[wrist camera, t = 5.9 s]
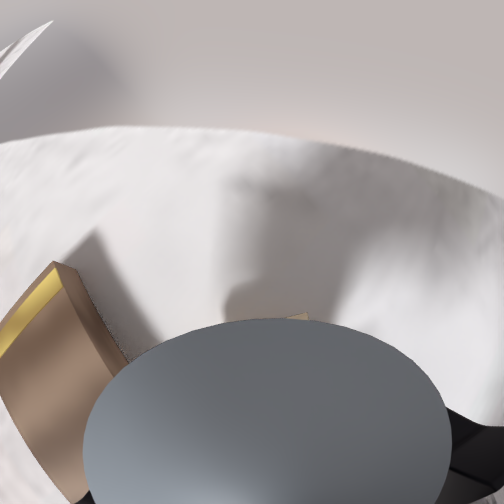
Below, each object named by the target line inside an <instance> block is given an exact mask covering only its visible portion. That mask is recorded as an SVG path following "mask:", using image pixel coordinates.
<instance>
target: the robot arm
mask: <svg viewBox="0 0 504 504" xmlns="http://www.w3.org/2000/svg"><path fill="white" fill-rule="evenodd" d="M446 409H447V413H448V417H449V421H450V425H451V435H452V450H451V460H450V465H449V469H448V473H447V477H446V480H445V482H444V485H443V487H442V490H441V492H440V494H439V496H438V498H437V500H436V502H435V504H504V426H485V425H480V424H478V423H475V422H473V421H471V420H469V419H467V418H465V417H463V416H462V415H460V414H458V413H456V412H454V411H452V410H450V409H449V408H447V407H446ZM74 504H96V503H95V501H94V499H93V497H92V494H91V492H90V490H89V491H88V492H87V493H86V494H85V495H84V497H83V498H81V499H80V500H79V501H78V502H76V503H74Z"/></svg>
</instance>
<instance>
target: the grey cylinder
mask: <svg viewBox="0 0 504 504" xmlns="http://www.w3.org/2000/svg"><path fill="white" fill-rule="evenodd" d="M451 450H452V435H451V425H450V421H449V417H448V413H447V409H446V407H445V404H444V402H443V400H442V398H441V395H440V393H439V391H438V390H437V388H436V387H435V386H434V384H433V383H432V381H431V380H430V378H429V377H428V376H427V375H426V374H425V372H424V371H423V370H422V369H421V368H420V367H419V366H418V365H417V364H416V363H415V362H414V361H413V360H411V359H410V358H408V357H407V356H406V355H404V354H403V353H401V352H400V351H399V350H397V349H396V348H394V347H393V346H391V345H389V344H387V343H385V342H383V341H381V340H379V339H377V338H375V337H373V336H371V335H368V334H365V333H362V332H359V331H356V330H353V329H350V328H347V327H344V326H339V325H334V324H329V323H324V322H319V321H312V320H309V317H308V313H307V312H306V313H302V314H298V315H294V316H290V317H286V318H276V319H250V320H243V321H236V322H228V323H221V324H218V325H214V326H210V327H206V328H202V329H198V330H194V331H191V332H188V333H186V334H183V335H180V336H178V337H175V338H173V339H170V340H167V341H165V342H163V343H161V344H160V345H158V346H156V347H154V348H152V349H150V350H149V351H147V352H145V353H143V354H142V355H140V356H139V357H138V358H136V359H135V360H134V361H132V362H131V363H130V364H128V365H127V366H125V367H124V368H123V369H122V370H121V371H120V372H119V373H118V374H117V375H116V376H115V377H114V378H113V379H112V380H111V381H110V382H109V383H108V384H107V386H106V387H105V389H104V390H103V392H102V393H101V395H100V396H99V397H98V399H97V400H96V402H95V405H94V407H93V409H92V411H91V413H90V416H89V418H88V421H87V425H86V429H85V433H84V440H83V463H84V472H85V476H86V479H87V483H88V487H89V490H90V492H91V494H92V497H93V499H94V501H95V503H96V504H435V502H436V500H437V498H438V496H439V494H440V492H441V490H442V487H443V485H444V482H445V480H446V477H447V473H448V469H449V465H450V460H451Z"/></svg>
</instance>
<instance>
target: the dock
mask: <svg viewBox="0 0 504 504" xmlns="http://www.w3.org/2000/svg"><path fill="white" fill-rule="evenodd" d="M128 364H129V363H128V362H127V360H126V358H125V357H124V355H123V354H122V352H121V351H120V349H119V348H118V346H117V344H116V343H115V341H114V340H113V338H112V336H111V335H110V333H109V331H108V330H107V328H106V326H105V324H104V323H103V321H102V319H101V317H100V316H99V314H98V312H97V310H96V308H95V307H94V305H93V303H92V301H91V299H90V297H89V295H88V293H87V291H86V289H85V287H84V285H83V283H82V281H81V279H80V277H79V275H78V273H77V270H76V269H73V268H71V267H68V266H65V265H63V264H60V263H58V262H56V261H52V262H51V263H50V264H49V265H48V266H47V268H46V269H45V270H44V271H43V272H42V273H41V274H40V275H39V276H38V277H37V279H36V280H35V281H34V282H33V283H32V284H31V285H30V286H29V288H28V289H27V290H26V291H25V292H24V293H23V295H22V296H21V297H20V298H19V299H18V301H17V302H16V303H15V304H14V306H13V307H12V308H11V309H10V311H9V312H8V313H7V315H6V316H5V317H4V318H3V320H2V321H1V322H0V396H1V398H2V400H3V402H4V404H5V406H6V408H7V410H8V412H9V414H10V416H11V418H12V420H13V422H14V424H15V425H16V427H17V429H18V431H19V433H20V434H21V436H22V438H23V439H24V441H25V443H26V444H27V446H28V447H29V449H30V451H31V452H32V454H33V455H34V457H35V458H36V460H37V461H38V463H39V464H40V465H41V467H42V468H43V470H44V471H45V472H46V474H47V475H48V476H49V478H50V479H51V480H52V482H53V483H54V484H55V486H56V487H57V488H58V489H59V490H60V492H61V493H62V494H63V495H64V496H65V498H66V499H67V500H68V501H69V502H70V503H71V504H74V503H76V502H78V501H79V500H80V499H81V498H83V497H84V495H85V494H86V493H87V492H88V491H89V487H88V483H87V479H86V476H85V472H84V463H83V440H84V433H85V429H86V425H87V421H88V418H89V416H90V413H91V411H92V409H93V407H94V405H95V402H96V400H97V399H98V397H99V396H100V395H101V393H102V392H103V390H104V389H105V387H106V386H107V384H108V383H109V382H110V381H111V380H112V379H113V378H114V377H115V376H116V375H117V374H118V373H119V372H120V371H121V370H122V369H123V368H124V367H125V366H127V365H128Z"/></svg>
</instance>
